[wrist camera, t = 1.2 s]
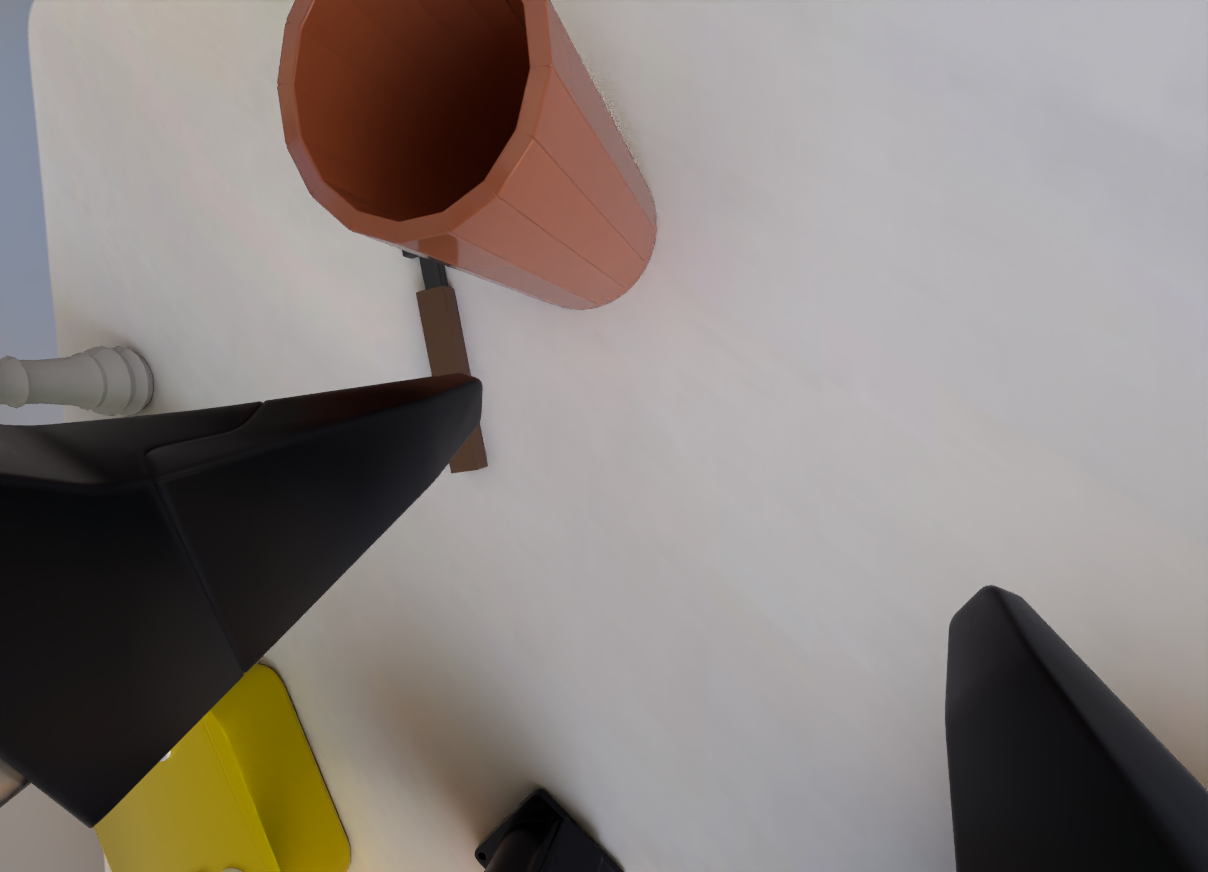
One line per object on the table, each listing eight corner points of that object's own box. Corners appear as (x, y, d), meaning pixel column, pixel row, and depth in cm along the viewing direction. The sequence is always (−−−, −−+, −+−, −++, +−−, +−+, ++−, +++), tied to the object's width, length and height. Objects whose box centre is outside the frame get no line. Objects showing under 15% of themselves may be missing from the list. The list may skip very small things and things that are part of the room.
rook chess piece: (113, 336, 32) (-84, 324, 25) (162, 360, 31) (-28, 355, 24) (104, 400, 33) (-88, 408, 25) (151, 425, 32) (-34, 441, 25)
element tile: (275, 654, 31) (195, 700, 27) (364, 871, 32) (299, 954, 27) (134, 700, 36) (44, 747, 31) (212, 890, 36) (134, 965, 31)
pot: (592, 340, 23) (430, 303, 11) (487, 250, 24) (235, 129, 12) (689, 211, 21) (618, 5, 9) (571, 120, 22) (371, -172, 10)
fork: (498, 464, 25) (488, 468, 24) (452, 471, 26) (440, 474, 25) (434, 126, 24) (421, 115, 23) (387, 144, 25) (373, 135, 24)
